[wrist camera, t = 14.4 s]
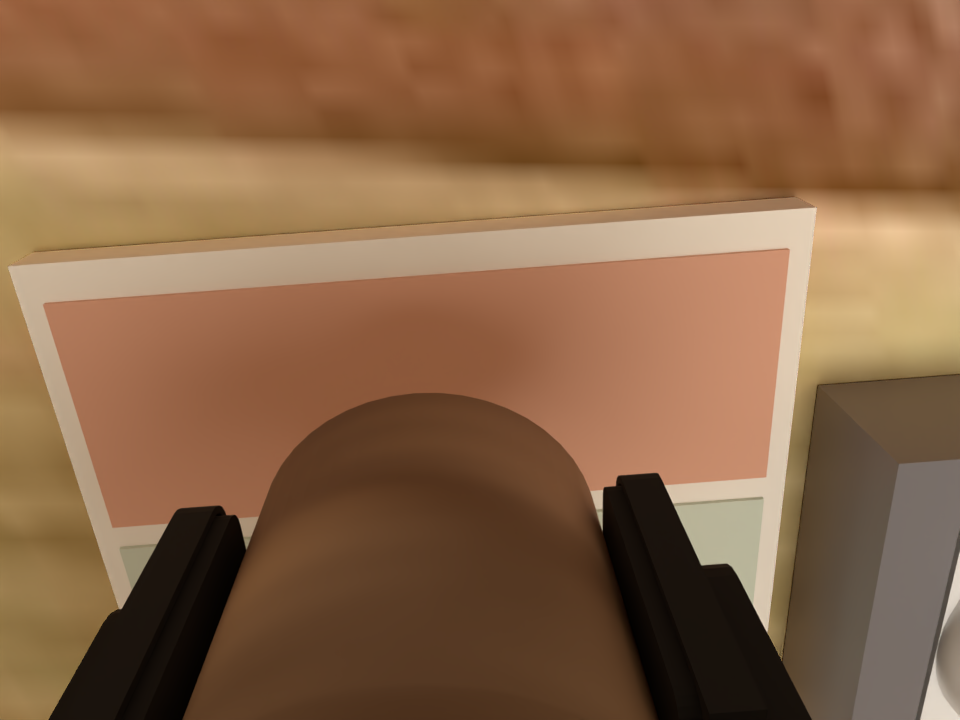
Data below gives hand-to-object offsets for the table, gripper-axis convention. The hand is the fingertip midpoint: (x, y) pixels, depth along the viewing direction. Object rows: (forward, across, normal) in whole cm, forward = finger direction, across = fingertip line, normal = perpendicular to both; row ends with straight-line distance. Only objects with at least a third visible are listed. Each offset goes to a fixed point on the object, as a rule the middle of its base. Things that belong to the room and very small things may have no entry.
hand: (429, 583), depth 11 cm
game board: (+7, 0, +6) cm, 10 cm away
